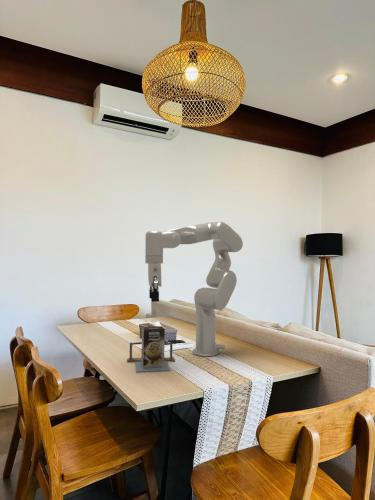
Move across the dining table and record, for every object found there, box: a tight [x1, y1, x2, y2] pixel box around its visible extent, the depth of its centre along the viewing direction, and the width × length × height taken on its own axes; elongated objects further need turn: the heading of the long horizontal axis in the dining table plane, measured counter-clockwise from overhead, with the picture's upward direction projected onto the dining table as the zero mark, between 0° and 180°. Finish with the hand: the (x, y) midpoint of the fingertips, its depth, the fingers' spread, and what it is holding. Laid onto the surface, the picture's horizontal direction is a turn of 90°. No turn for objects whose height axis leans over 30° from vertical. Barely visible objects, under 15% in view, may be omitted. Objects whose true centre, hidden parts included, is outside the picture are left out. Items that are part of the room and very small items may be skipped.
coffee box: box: [140, 325, 166, 368], centre depth 147 cm, size 9×6×16 cm
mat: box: [134, 361, 171, 373], centre depth 146 cm, size 14×12×1 cm
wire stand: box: [126, 341, 176, 363], centre depth 154 cm, size 21×4×8 cm, turn 95°
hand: (154, 299), depth 148 cm, fingers open, 9 cm apart
